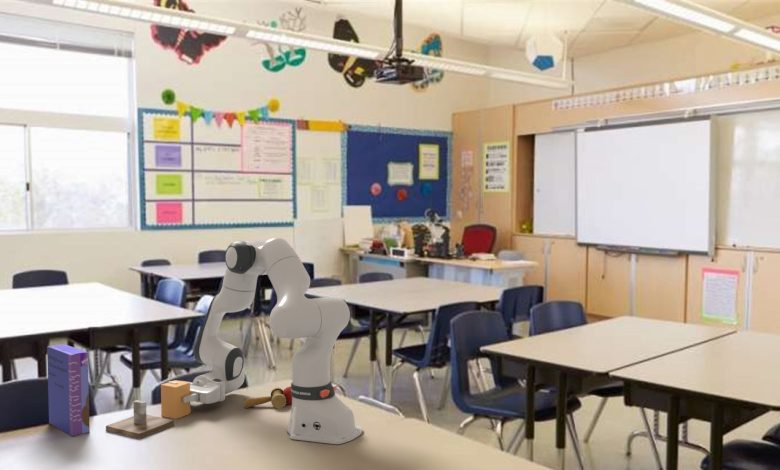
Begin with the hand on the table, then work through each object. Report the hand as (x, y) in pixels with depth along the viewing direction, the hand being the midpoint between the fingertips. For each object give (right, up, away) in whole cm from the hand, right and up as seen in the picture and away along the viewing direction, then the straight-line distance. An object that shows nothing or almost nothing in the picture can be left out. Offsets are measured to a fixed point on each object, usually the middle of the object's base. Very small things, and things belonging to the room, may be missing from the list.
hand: (173, 398), depth 207 cm
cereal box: (-28, -6, -11) cm, 30 cm away
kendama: (+29, -5, +10) cm, 32 cm away
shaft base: (-6, -6, -11) cm, 14 cm away
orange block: (0, -5, +1) cm, 6 cm away
